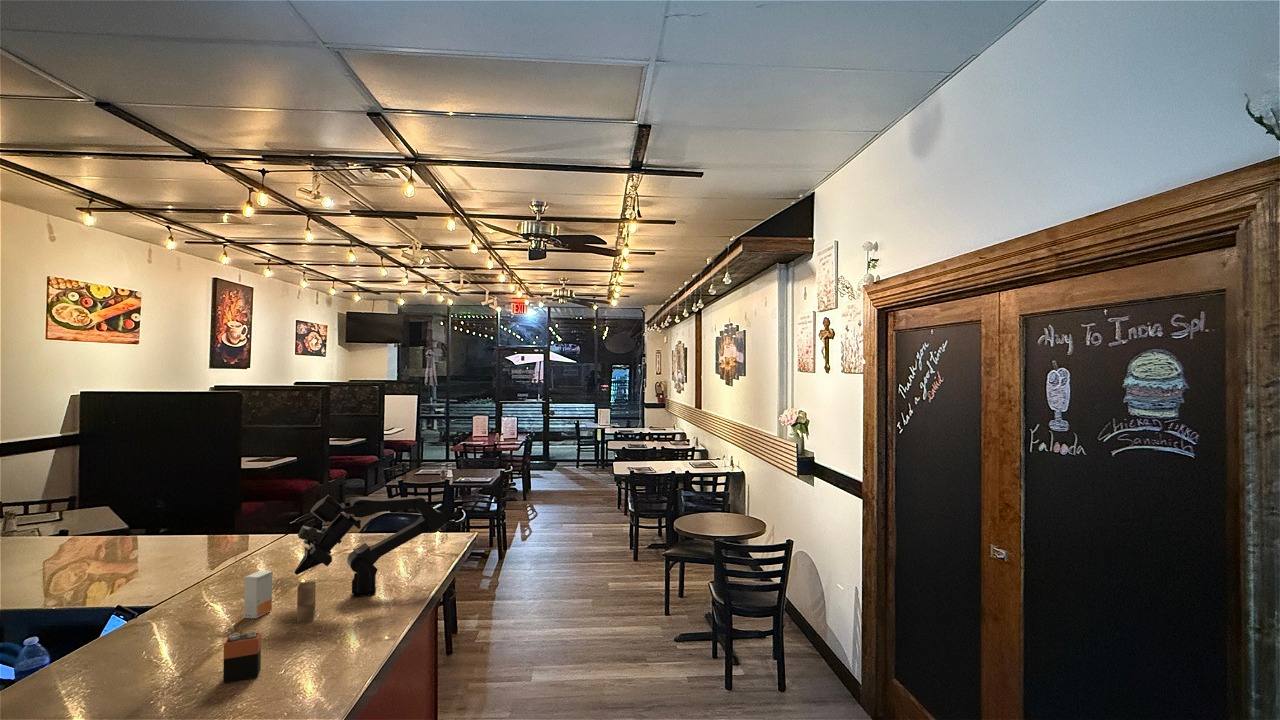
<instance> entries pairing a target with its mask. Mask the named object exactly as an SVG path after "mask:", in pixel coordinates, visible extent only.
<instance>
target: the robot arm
mask: <svg viewBox="0 0 1280 720" xmlns="http://www.w3.org/2000/svg"><path fill="white" fill-rule="evenodd" d="M408 510H416V511H417V512H419V514H421V515H420V516H419V517H418V518H417V519H416V521H415V522H413V523H411V524H410V525H408V526H406V527H404V528H401V530H398V531H397V532H394V533H393V534H391V535H390V536H387V537H386V538H383V540H380V541H379V542H377V543H375V544H373V545H372V544H370V545H368V544H367V542H364V543H362V544H361V545H359V546H358V547H356V548H353V549H352V551H351V552H350V553H349V554H348V556H347V559H346V562H347V565H348V566H349V567H350V570H352V571H353V572H354V576H353V578H352V580H351V594H352V597H353V598H357V597H365V596H373V595H376V593H377V592H376V591H377V588H378V587H377V573H378V567H377V566H375V564H376V563H377V561H378V560H379V559H380V558H381V557H383V556H385V555H386V554H388V553H390V552H392V551H394V550H395V549H397V548H399V547H401V546H402V545H404V544H405V543H408V542H409V541H411V540H414V539H415V538H417V537H418V536H420V535H422V534H427V533H430V532H431V533H432V532H434V531H436V530H439V529H441V528H443V527H444V526H445V525H446V522H447V517H446V515H445V513H444V512H441V511H440V510H438V509H436V508H434V507H433V506H431V505H430V503H428V502H427V501H426V499H425V498H423V497H422V496H420V495H416V496H409V497H408V496H407V497H406V496H405V497H393V498H390V497H389V498H374V497H366V496H355V497H353V498H352V499H351V500H350V501H347V502H346V501H345V502H342V503H338V501H336V500H335V499H333V497H332V496H330V495H329V494H327V495H326V496H325V497H323V498H322V499H320V500H318V501H317V502H316V503H315V504H314V505H313V506H312V508H311V509H310V513H311V514H312V515H314V516H315V517H317V518H318V519H319V520H321V521H322V522H324V523H330V524H329V525H328V526H327V527H322V528H321V530H319V529H317V528H316V527H315V528H314V527H312V526H311V527H309V526H307V525H302V526H301V527H300V530H299V532H298V533H297V536H298V539H301V540H303V543H304V544H305V545H308V546H307V547H306V546H304V548H303V549H304V555H303V557H302V558H301V560H300V562H299V564H298V565H297V567H296V568H295V570H294V572H293V573H294V574H295V575H296V576H298V575H300V574H301V573H304V572H306V571H308V570H310V569H313V568H314V567H316V566H318V565H322V564H323V565H324V566H325V567H328V566H329V565H330V564H331V563H332V562H333V556H332V555H331V553H332V550H333V549H334V548H335V546H337V544H339V545H340V544H341V543H342V539H343V538H344V537H345V536H346V535H347V534H348V533H349V532H350V531H351V530H352V529H353V528H354V527H355V528H357V529H358V530H360V529H361V525H362V524H361V522H362V520H361V519H360V518H365V517H369V516H373V515H376V514H379V513H385V512H395V511H408ZM343 512H344V514H343ZM345 514H346V515H345ZM354 516H355V517H354ZM356 518H358V519H356ZM324 523H323V524H324Z"/></svg>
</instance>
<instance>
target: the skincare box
mask: <svg viewBox="0 0 1280 720" xmlns="http://www.w3.org/2000/svg"><path fill="white" fill-rule="evenodd" d="M273 572H274V571H273V570H272V571H271V570H259V571H256V572H253V573H251V574H249V575H246V576H245V577H244V595H243V597H244V599H243V601H244V602H243V603H244V605H243V618H244V619H252V618H253V620H255V619H258V618H259V617H262V616H265V615H267V614H268V612H269V613H271V612H272V611H273V578H274V577H273V574H274V573H273ZM270 611H271V612H270ZM266 613H267V614H266ZM254 618H255V619H254Z"/></svg>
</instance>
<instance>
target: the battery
mask: <svg viewBox="0 0 1280 720" xmlns="http://www.w3.org/2000/svg"><path fill="white" fill-rule="evenodd" d="M261 661H262V634H261V632H256V631H251V632H248V633H246V634H241V633H237V632H235V633H233V634H230V635H229V637H227V639H226V640H225V641H224V643H223V672H222V675H223V677H222V679H223V681H222V682H223V683H224V684H229V683H234V682H240V680H241V681H245V680H250V679H251V680H252V679H255V678H258V677H259V674H260V671H261V665H262V662H261Z"/></svg>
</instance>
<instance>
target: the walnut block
mask: <svg viewBox="0 0 1280 720" xmlns="http://www.w3.org/2000/svg"><path fill="white" fill-rule="evenodd" d="M316 583H317V582H316V581H309V582H300V583H299V584H298V586H297V591H296V592H297V595H296V596H297V598H296V599H297V600H296V601H297V602H296V605H297V606H296V607H297V608H296V609H297V610H296V623H297V624H301V623H307V622H308V623H309V622H313V621H314V620H315V618H316V592H317V591H316V587H317V586H316ZM314 617H315V618H314Z"/></svg>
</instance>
